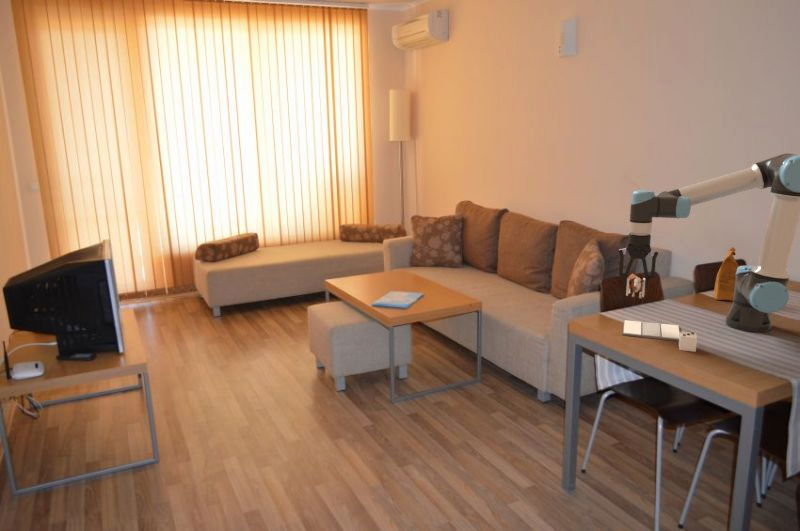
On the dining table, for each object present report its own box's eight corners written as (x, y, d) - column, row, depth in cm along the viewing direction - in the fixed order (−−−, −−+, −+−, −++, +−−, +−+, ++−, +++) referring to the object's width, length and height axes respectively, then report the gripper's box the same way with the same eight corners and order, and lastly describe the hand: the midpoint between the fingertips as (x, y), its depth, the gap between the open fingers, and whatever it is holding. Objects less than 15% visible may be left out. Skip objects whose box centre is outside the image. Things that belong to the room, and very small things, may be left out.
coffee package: (739, 296, 268) (745, 247, 263) (738, 303, 257) (744, 252, 252) (714, 293, 273) (719, 245, 268) (712, 300, 262) (717, 250, 257)
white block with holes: (694, 346, 209) (696, 331, 208) (695, 351, 205) (697, 336, 204) (678, 345, 211) (680, 330, 210) (679, 350, 207) (681, 334, 205)
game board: (678, 327, 229) (678, 325, 229) (681, 341, 214) (681, 338, 214) (623, 322, 236) (624, 319, 236) (622, 335, 221) (622, 332, 221)
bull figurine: (631, 300, 219) (632, 279, 217) (626, 290, 231) (627, 269, 229) (644, 301, 218) (645, 279, 216) (638, 291, 230) (639, 270, 228)
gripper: (666, 232, 219) (660, 294, 225) (614, 230, 226) (610, 290, 231) (667, 236, 212) (661, 300, 218) (613, 233, 219) (609, 295, 224)
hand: (634, 295), depth 224 cm, fingers closed on bull figurine, 5 cm apart
